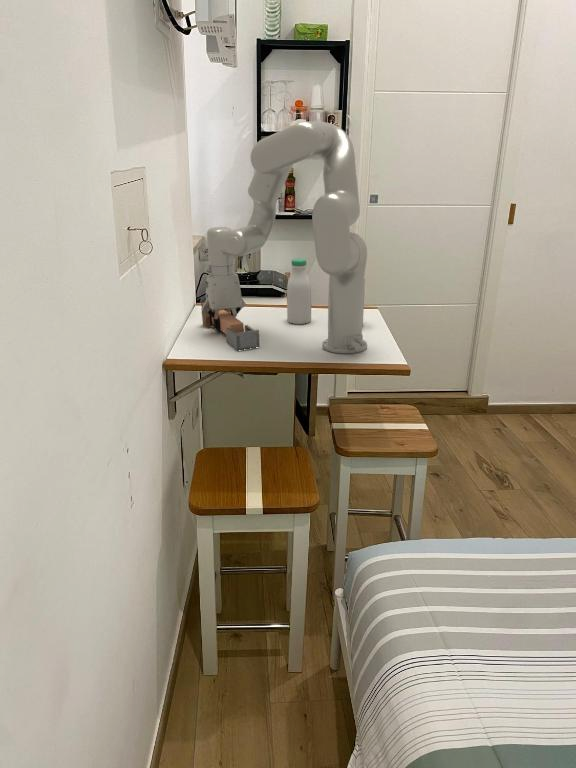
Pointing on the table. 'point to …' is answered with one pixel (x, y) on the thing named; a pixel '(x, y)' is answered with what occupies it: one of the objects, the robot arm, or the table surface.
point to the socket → (208, 318)
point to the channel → (243, 338)
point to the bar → (228, 322)
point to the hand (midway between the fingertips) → (225, 328)
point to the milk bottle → (299, 294)
